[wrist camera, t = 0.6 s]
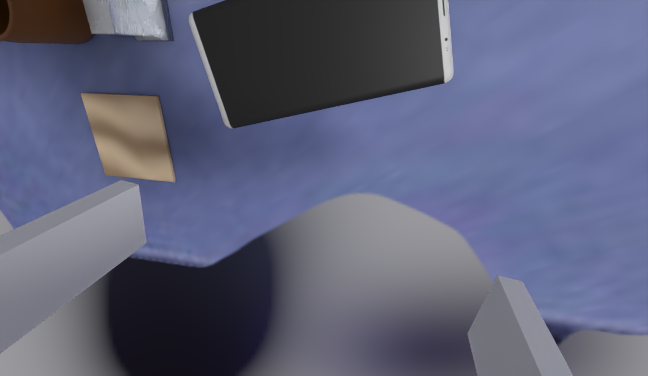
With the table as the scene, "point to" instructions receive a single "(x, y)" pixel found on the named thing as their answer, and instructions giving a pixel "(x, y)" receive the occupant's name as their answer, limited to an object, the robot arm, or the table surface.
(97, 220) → the robot arm
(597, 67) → the table surface
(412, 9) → the smartphone
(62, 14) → the mug
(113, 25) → the grey angular pieces
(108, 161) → the coaster
